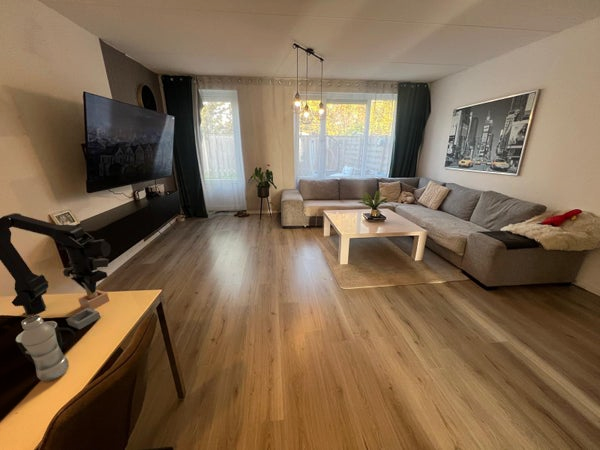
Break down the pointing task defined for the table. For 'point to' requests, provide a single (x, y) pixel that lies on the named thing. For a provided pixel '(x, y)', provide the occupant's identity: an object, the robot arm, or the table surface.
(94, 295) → the dowel
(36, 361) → the plastic bottle
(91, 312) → the socket block
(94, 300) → the square box
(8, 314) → the table surface
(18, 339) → the mug
